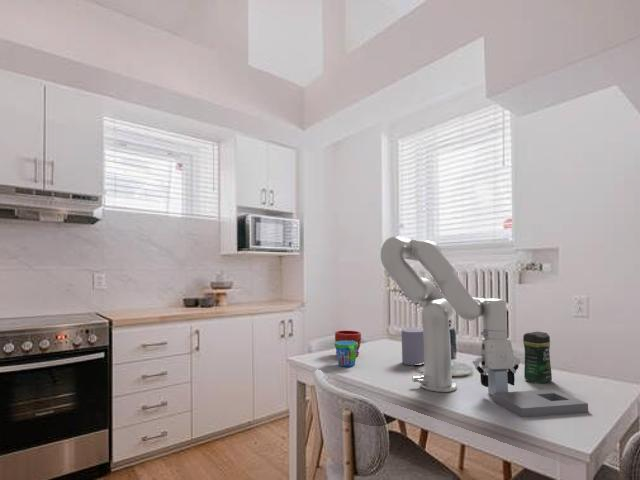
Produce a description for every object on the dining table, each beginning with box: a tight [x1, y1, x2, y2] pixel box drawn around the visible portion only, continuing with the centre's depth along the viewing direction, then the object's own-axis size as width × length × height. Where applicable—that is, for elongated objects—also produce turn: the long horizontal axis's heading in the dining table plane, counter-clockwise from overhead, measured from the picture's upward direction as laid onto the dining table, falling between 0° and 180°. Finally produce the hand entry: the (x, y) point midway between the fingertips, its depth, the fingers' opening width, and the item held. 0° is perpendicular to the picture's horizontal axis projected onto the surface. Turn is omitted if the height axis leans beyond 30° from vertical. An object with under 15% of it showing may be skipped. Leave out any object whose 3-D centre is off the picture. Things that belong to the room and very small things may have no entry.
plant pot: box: [334, 330, 362, 357], centre depth 193 cm, size 13×13×12 cm
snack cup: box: [334, 340, 358, 368], centre depth 175 cm, size 16×10×10 cm
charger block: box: [487, 369, 509, 397], centre depth 132 cm, size 5×5×9 cm
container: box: [401, 328, 424, 367], centre depth 177 cm, size 10×10×15 cm
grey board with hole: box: [492, 388, 589, 418], centre depth 121 cm, size 22×14×2 cm, turn 99°
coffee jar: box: [522, 331, 553, 384], centre depth 148 cm, size 10×8×19 cm
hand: (497, 385), depth 132 cm, fingers open, 9 cm apart
